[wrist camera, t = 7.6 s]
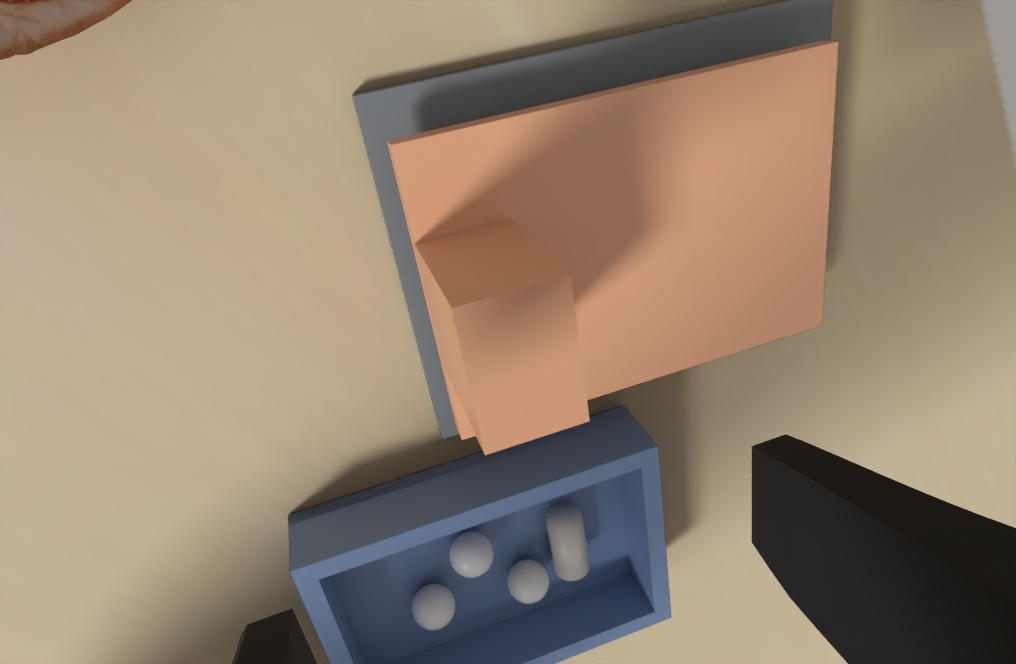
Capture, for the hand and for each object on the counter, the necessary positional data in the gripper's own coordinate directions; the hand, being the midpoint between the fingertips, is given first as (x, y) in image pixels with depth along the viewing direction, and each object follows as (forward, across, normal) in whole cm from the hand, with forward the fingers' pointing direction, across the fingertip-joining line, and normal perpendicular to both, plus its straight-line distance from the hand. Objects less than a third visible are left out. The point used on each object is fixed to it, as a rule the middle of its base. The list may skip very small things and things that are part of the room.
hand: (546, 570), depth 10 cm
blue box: (+10, 0, +9) cm, 14 cm away
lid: (+9, -6, -1) cm, 11 cm away
